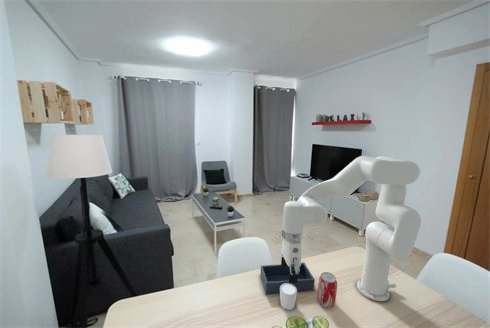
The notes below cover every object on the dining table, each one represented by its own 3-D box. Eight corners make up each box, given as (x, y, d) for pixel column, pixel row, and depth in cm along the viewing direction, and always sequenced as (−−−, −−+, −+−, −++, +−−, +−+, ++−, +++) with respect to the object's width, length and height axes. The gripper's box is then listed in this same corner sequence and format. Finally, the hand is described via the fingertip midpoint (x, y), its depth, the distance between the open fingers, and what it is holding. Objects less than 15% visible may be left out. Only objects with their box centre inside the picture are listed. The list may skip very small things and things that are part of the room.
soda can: (313, 298, 93) (315, 273, 91) (326, 293, 96) (328, 269, 94) (325, 311, 87) (328, 285, 85) (338, 306, 90) (342, 280, 87)
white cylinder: (296, 312, 86) (297, 297, 85) (278, 309, 88) (279, 294, 86) (295, 298, 93) (297, 284, 92) (279, 296, 94) (280, 281, 93)
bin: (303, 272, 109) (304, 262, 108) (313, 290, 98) (314, 279, 97) (260, 276, 106) (260, 265, 105) (265, 294, 95) (266, 283, 94)
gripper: (310, 246, 76) (306, 289, 80) (293, 223, 93) (290, 259, 96) (289, 247, 75) (286, 291, 79) (276, 223, 92) (273, 260, 95)
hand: (288, 273), depth 87 cm, fingers open, 9 cm apart
